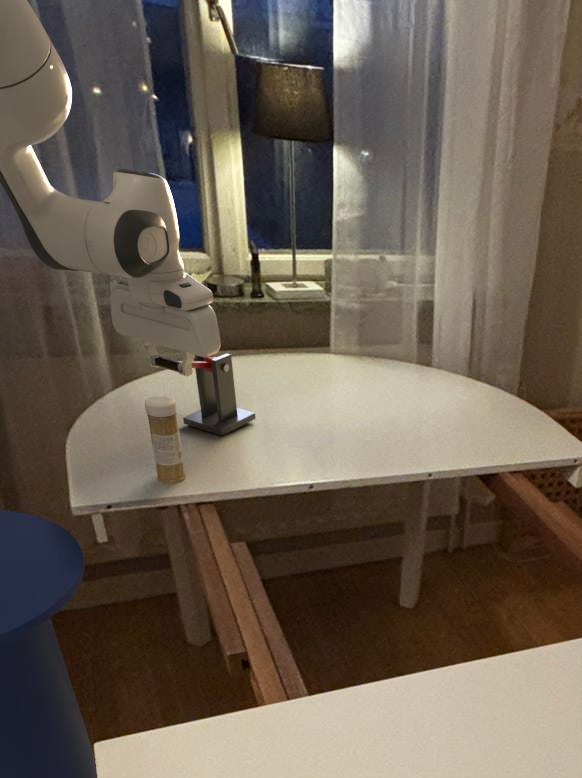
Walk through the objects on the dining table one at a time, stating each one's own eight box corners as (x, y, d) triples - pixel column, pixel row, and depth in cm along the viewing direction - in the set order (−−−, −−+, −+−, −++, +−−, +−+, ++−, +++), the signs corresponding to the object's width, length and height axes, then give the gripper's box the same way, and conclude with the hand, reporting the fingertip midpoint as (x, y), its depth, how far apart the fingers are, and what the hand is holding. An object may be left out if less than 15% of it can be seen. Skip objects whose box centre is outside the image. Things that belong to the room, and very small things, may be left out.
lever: (177, 375, 131) (178, 360, 130) (154, 368, 132) (155, 354, 131) (229, 374, 142) (229, 360, 141) (207, 367, 143) (208, 354, 142)
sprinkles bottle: (166, 471, 130) (153, 393, 122) (191, 476, 130) (180, 397, 122) (151, 482, 127) (138, 402, 119) (177, 486, 126) (165, 407, 118)
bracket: (222, 435, 143) (213, 367, 135) (183, 423, 145) (173, 356, 138) (255, 418, 150) (249, 353, 142) (218, 407, 153) (210, 342, 145)
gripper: (93, 276, 124) (111, 361, 133) (193, 302, 119) (205, 389, 127) (122, 269, 129) (138, 352, 137) (221, 294, 123) (230, 378, 132)
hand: (171, 370), depth 132 cm, fingers closed on lever, 5 cm apart
